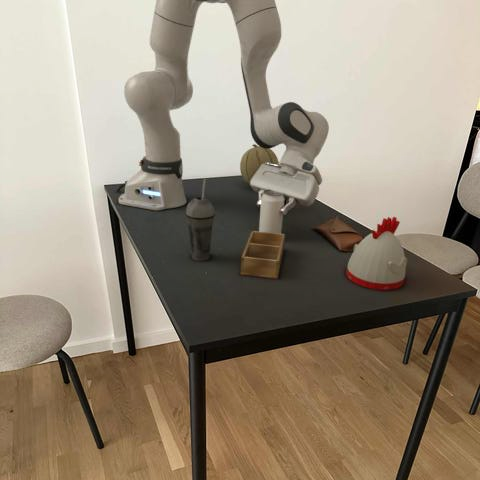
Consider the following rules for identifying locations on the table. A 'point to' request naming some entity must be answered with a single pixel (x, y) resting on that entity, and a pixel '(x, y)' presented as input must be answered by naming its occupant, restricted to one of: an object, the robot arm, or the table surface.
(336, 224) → the sunglasses case
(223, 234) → the table surface
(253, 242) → the organizer
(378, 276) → the kitchen timer
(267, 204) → the can
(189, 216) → the beverage cup
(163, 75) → the robot arm
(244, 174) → the cantaloupe
